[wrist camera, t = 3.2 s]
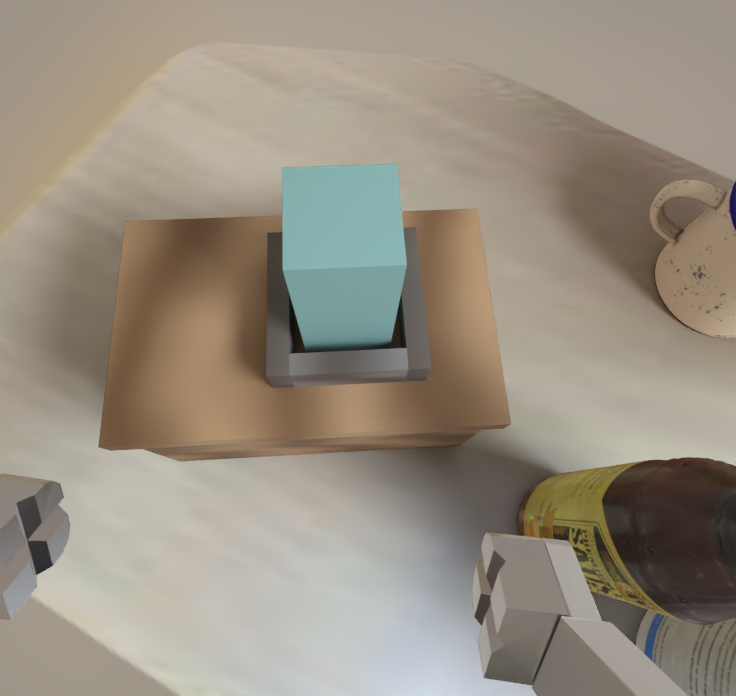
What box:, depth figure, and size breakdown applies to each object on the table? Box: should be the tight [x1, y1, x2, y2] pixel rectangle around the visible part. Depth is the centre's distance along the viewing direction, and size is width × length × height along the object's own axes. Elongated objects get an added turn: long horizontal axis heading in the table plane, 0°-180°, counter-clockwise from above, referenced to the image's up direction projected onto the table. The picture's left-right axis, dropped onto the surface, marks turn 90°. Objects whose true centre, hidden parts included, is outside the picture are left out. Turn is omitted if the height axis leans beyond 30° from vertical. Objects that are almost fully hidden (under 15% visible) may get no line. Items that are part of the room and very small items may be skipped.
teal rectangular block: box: [282, 164, 407, 353], centre depth 20 cm, size 4×4×8 cm
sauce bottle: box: [518, 457, 736, 625], centre depth 21 cm, size 6×6×20 cm
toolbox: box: [98, 209, 511, 461], centre depth 28 cm, size 19×12×12 cm, turn 93°
